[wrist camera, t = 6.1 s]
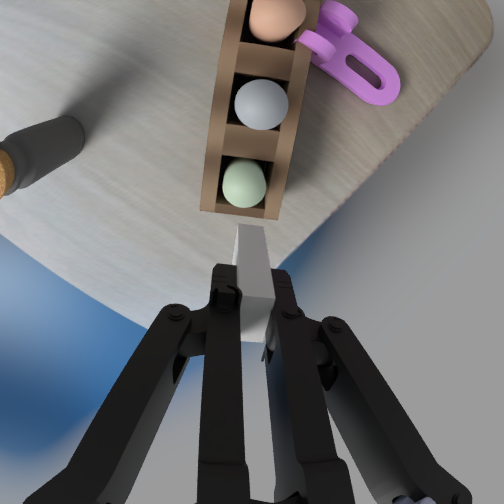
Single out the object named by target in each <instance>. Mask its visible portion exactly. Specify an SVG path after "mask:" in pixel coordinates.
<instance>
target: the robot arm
mask: <svg viewBox="0 0 504 504" xmlns="http://www.w3.org/2000/svg"><path fill="white" fill-rule="evenodd" d="M265 335H266V345H265V349H264V352H263V356H262V360H261V361H264V358H265V364H266V365H265V366H266V376H267V387H268V398H269V408H270V420H271V431H272V442H273V452H274V463H275V475H276V486H275V490H274V503H268V502H263V501H258V500H253V499H250V484H249V470H248V466H247V464H246V461H245V445H244V420H243V393H242V363H241V341H249V342H264V338H265ZM198 355H205V357H204V371H203V385H202V399H201V416H200V433H199V456H198V480H197V481H198V482H197V503H195V504H355V499H354V494H353V490H352V485H351V479H350V475H349V470H348V467H347V464H346V463H345V461H344V460H342V459H340V458H339V457H338V456H337V453H336V449H335V444H334V439H333V434H332V430H331V425H330V420H329V415H328V411H329V413H330V414H331V416H332V418H333V420H334V422H335V424H336V426H337V428H338V430H339V432H340V434H341V436H342V438H343V440H344V442H345V444H346V446H347V448H348V450H349V452H350V454H351V456H352V458H353V459H354V462H355V463H356V466H357V467H358V469H359V471H360V473H361V475H362V477H363V479H364V481H365V483H366V485H367V487H368V489H369V491H370V492H371V494H372V496H373V498H374V499H375V501H376V502H377V503H378V504H472V495H471V493H470V491H469V490H468V489H467V488H466V487H465V486H464V485H462V484H461V483H460V482H459V481H458V480H456V479H455V478H454V477H453V476H452V475H451V474H449V473H448V472H447V471H446V470H445V469H443V468H442V467H441V466H440V465H439V464H438V463H437V462H436V460H435V459H434V457H433V455H432V454H431V452H430V450H429V449H428V447H427V445H426V444H425V442H424V441H423V439H422V437H421V436H420V434H419V433H418V431H417V429H416V428H415V426H414V424H413V423H412V421H411V420H410V418H409V417H408V415H407V414H406V412H405V410H404V409H403V407H402V406H401V404H400V403H399V401H398V399H397V398H396V396H395V395H394V393H393V392H392V390H391V388H390V387H389V385H388V384H387V382H386V381H385V379H384V378H383V376H382V375H381V373H380V372H379V370H378V369H377V367H376V366H375V364H374V363H373V361H372V360H371V358H370V357H369V355H368V354H367V352H366V351H365V349H364V348H363V346H362V345H361V343H360V342H359V340H358V339H357V338H356V336H355V335H354V333H353V332H352V330H351V329H350V327H349V326H348V324H347V323H345V321H344V320H342V319H340V318H337V317H334V316H332V317H331V316H329V317H326V318H324V319H323V320H322V322H319V321H315V320H312V319H309V318H307V317H306V316H305V314H304V313H303V310H301V309H300V308H299V307H298V306H297V302H296V298H295V294H294V290H293V286H292V282H291V278H290V275H288V273H287V272H286V271H285V270H280V269H271V268H270V263H269V257H268V251H267V245H266V239H265V233H264V227H262V226H254V225H246V224H238V228H237V235H236V241H235V248H234V254H233V261H232V265H228V264H219V263H217V264H216V266H215V267H214V268H213V272H212V281H211V291H210V300H209V303H208V304H207V306H205V307H204V308H202V309H200V310H195V311H190V309H189V308H188V307H186V306H184V305H182V304H169V305H167V306H164V307H163V308H162V309H161V311H160V312H159V314H158V315H157V317H156V318H155V320H154V321H153V323H152V325H151V326H150V328H149V329H148V331H147V332H146V334H145V335H144V337H143V339H142V340H141V342H140V344H139V345H138V346H137V348H136V350H135V351H134V353H133V355H132V356H131V358H130V359H129V361H128V362H127V364H126V366H125V367H124V369H123V371H122V372H121V374H120V376H119V377H118V379H117V380H116V382H115V384H114V385H113V387H112V389H111V390H110V392H109V394H108V395H107V397H106V399H105V400H104V402H103V404H102V405H101V407H100V409H99V410H98V412H97V414H96V416H95V417H94V419H93V421H92V422H91V424H90V426H89V428H88V430H87V431H86V433H85V435H84V437H83V438H82V440H81V442H80V443H79V445H78V447H77V449H76V451H75V453H74V454H73V456H72V458H71V460H70V462H69V463H68V465H67V467H66V468H65V469H63V470H62V471H61V472H60V473H58V474H57V475H56V476H55V477H53V478H52V479H51V480H50V481H48V482H47V483H46V484H44V485H43V486H42V487H41V488H39V489H38V490H37V491H35V492H34V493H33V494H31V495H30V496H29V497H27V498H26V500H25V501H24V502H23V504H124V503H125V502H126V500H127V498H128V496H129V494H130V492H131V490H132V487H133V485H134V483H135V480H136V478H137V476H138V474H139V471H140V469H141V467H142V464H143V462H144V460H145V458H146V455H147V453H148V451H149V449H150V446H151V444H152V442H153V440H154V437H155V435H156V433H157V431H158V428H159V426H160V424H161V422H162V419H163V417H164V415H165V413H166V410H167V408H168V406H169V404H170V402H171V399H172V397H173V395H174V392H175V390H176V388H177V386H178V384H179V382H180V379H181V377H182V375H183V373H184V370H185V368H186V366H187V364H188V362H189V360H190V357H192V356H198ZM327 408H328V411H327Z"/></svg>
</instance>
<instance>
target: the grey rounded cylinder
mask: <svg viewBox="0 0 504 504" xmlns="http://www.w3.org/2000/svg"><path fill="white" fill-rule="evenodd" d="M235 111H236V114H237V116H238V118H239V119H240V120H241V122H242V123H244V124H245V125H246V126H248V127H250V128H252V129H256V130H268V129H271V128H274V127H275V126H277V125H278V124H280V123H281V122H282V121H283V119H284V118H285V116H286V114H287V112H288V98H287V95H286V93H285V92H284V90H283V89H282V88H281V87H280V86H279V85H278V84H276V83H274V82H272V81H269V80H264V79H259V80H254V81H251V82H249V83H247V84H245V85H243V86H242V87H241V88H240V89H239V91H238V92H237V95H236V99H235Z"/></svg>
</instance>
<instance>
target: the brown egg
mask: <svg viewBox="0 0 504 504" xmlns="http://www.w3.org/2000/svg"><path fill="white" fill-rule="evenodd" d="M305 16H306V7H305V4H304V2H303V0H254V1H253V4H252V8H251V14H250V19H249V29H250V32H251V33H252V35H253V36H254V37H255V38H256V39H258V40H259V41H261V42H264V43H269V44H273V43H278V42H281V41H283V40H285V39H286V38H287V37H288V36H289V35H290V34H291V33H292V32H293V31H294V30H295V29H296V28H298V27H299V26H300V25H301V24H302V22H303V21H304V19H305Z"/></svg>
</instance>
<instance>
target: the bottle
mask: <svg viewBox="0 0 504 504" xmlns="http://www.w3.org/2000/svg"><path fill="white" fill-rule="evenodd" d="M83 143H84V132H83V129H82V126H81V125H80V123H79V122H78V121H77V120H76V119H74V118H73V117H69V116H63V117H59V118H55V119H52V120H49V121H45V122H42V123H39V124H36V125H33V126H30V127H27V128H25V129H22V130H19V131H17V132H14V133H12V134H10V135H8V136H7V137H6V138H5V139H4V141H2V142H0V199H1V198H2V197H3V196H6V195H10V194H12V193H13V192H15V191H16V190H17V189H23V188H26V187H28V186H29V185H31V184H33V183H34V182H36V181H37V180H39V179H41V178H42V177H44V176H45V175H47V174H48V173H50V172H52V171H53V170H55V169H56V168H58V167H60V166H61V165H63V164H65V163H66V162H68V161H70V160H71V159H73V158H75V157H76V156H77V155H78V154H79V153H80V151H81V149H82V147H83Z"/></svg>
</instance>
